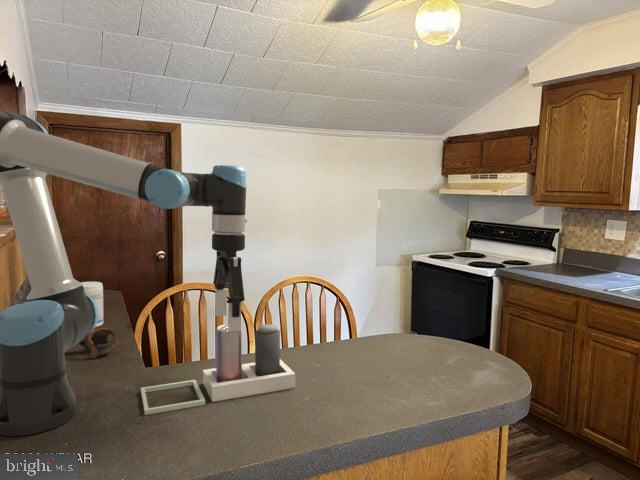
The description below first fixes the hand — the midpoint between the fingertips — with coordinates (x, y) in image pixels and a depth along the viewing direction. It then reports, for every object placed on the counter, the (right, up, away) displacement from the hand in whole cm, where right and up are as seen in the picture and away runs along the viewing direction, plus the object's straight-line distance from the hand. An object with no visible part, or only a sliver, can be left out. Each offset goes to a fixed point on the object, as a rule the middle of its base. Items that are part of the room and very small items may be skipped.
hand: (227, 322), depth 111 cm
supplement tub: (-58, -10, +53) cm, 79 cm away
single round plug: (+9, -16, +6) cm, 19 cm away
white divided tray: (+5, -16, +4) cm, 17 cm away
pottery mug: (-42, -14, +25) cm, 51 cm away
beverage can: (0, -16, +2) cm, 16 cm away
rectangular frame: (-12, -17, -4) cm, 21 cm away
